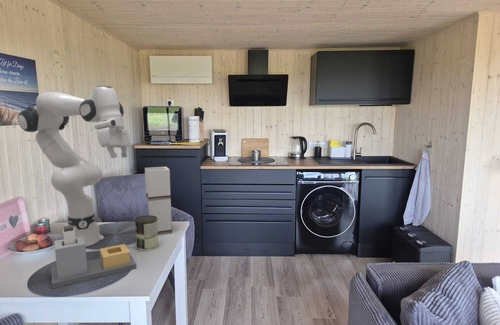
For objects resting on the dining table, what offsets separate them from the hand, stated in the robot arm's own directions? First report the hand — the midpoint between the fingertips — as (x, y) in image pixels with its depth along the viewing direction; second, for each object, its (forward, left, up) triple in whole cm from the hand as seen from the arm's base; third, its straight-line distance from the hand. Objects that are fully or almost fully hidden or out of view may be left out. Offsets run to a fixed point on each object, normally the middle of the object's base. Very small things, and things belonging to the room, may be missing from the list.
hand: (119, 157), depth 133 cm
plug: (+1, -20, -36) cm, 41 cm away
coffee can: (-13, +13, -46) cm, 50 cm away
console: (+1, -12, -46) cm, 48 cm away
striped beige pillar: (-30, +24, -46) cm, 60 cm away
